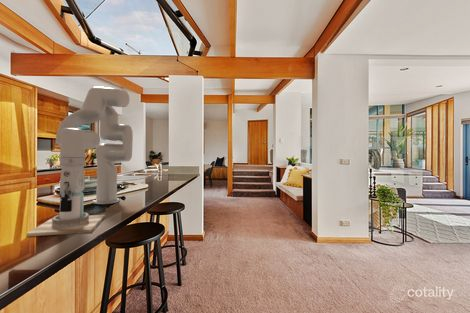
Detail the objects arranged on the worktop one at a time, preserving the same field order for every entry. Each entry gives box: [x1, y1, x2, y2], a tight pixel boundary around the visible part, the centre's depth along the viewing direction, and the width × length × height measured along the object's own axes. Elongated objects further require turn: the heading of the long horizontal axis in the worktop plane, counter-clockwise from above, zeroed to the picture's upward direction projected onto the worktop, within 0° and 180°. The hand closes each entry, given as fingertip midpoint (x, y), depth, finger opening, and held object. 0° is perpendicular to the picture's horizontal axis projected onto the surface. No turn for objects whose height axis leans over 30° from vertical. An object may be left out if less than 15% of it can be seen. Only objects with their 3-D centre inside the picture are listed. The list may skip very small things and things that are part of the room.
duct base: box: [26, 212, 106, 237], centre depth 82 cm, size 18×18×4 cm
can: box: [59, 190, 85, 220], centre depth 82 cm, size 7×7×12 cm
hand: (71, 208), depth 82 cm, fingers open, 9 cm apart
